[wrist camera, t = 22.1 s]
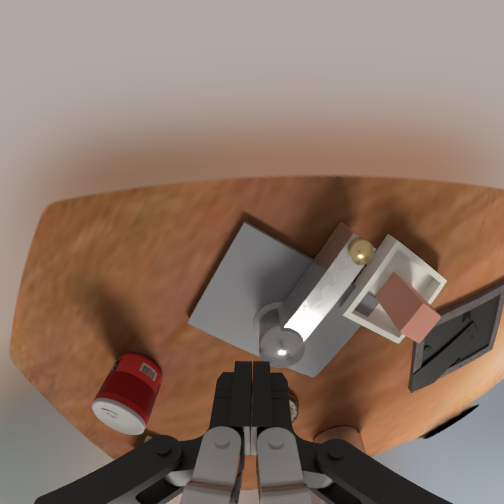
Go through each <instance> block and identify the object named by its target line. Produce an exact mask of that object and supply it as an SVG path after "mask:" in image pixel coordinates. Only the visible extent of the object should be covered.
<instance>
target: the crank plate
mask: <svg viewBox="0 0 504 504" xmlns="http://www.w3.org/2000/svg"><path fill="white" fill-rule="evenodd" d="M313 261H314V260H313V259H312V258H310V257H308V256H307V255H305V254H303V253H301V252H300V251H298V250H296V249H294V248H293V247H291V246H289V245H287V244H286V243H284V242H282V241H280V240H279V239H277V238H275V237H273V236H271V235H270V234H268V233H266V232H264V231H263V230H261V229H259V228H257V227H255V226H254V225H252V224H250V223H248V222H247V221H244V222H243V224H242V226H241V228H240V229H239V231H238V233H237V234H236V236H235V238H234V240H233V241H232V243H231V245H230V247H229V248H228V250H227V252H226V254H225V255H224V257H223V259H222V261H221V262H220V264H219V266H218V268H217V269H216V271H215V273H214V275H213V276H212V278H211V280H210V282H209V284H208V285H207V287H206V289H205V291H204V292H203V294H202V296H201V298H200V300H199V301H198V303H197V305H196V307H195V309H194V310H193V312H192V314H191V316H190V318H189V320H188V322H187V323H188V324H190V325H192V326H194V327H196V328H198V329H200V330H202V331H204V332H206V333H209V334H211V335H213V336H215V337H217V338H219V339H221V340H223V341H225V342H228V343H230V344H232V345H234V346H236V347H239V348H241V349H243V350H245V351H248V352H250V353H252V354H255V355H257V356H259V357H260V355H259V322H260V320H261V318H262V316H263V315H264V314H265V313H267V312H268V311H270V310H272V309H277V308H279V307H280V306H281V305H282V303H283V302H284V301H285V299H286V298H287V297H288V295H289V294H290V292H291V291H292V290H293V288H294V287H295V286H296V284H297V283H298V282H299V280H300V279H301V277H302V276H303V275H304V273H305V272H306V270H307V269H308V268H309V266H310V265H311V263H312V262H313ZM355 288H356V286H355V284H354V283H353V282H352V283H351V284H350V285H349V287H348V288H347V289H346V290H345V292H344V293H343V294H342V296H341V297H340V298H339V299H338V301H337V302H336V303H335V305H334V306H333V307H332V308H331V310H330V311H329V312H328V313H327V314H326V316H325V317H324V318H323V319H322V321H321V322H320V323H319V324H318V325H317V327H316V328H315V329H314V330H313V331H312V332H311V334H310V335H309V336H308V337H307V338H306V339H305V341H304V346H305V353H304V355H303V357H302V358H301V360H300V361H299V362H297V363H296V364H294V365H292V366H289V367H286V368H289V369H291V370H294V371H296V372H299V373H302V374H304V375H307V376H310V377H312V378H314V377H315V376H316V375H317V374H318V373H319V372H320V371H321V370H322V369H323V368H324V367H325V366H326V365H327V364H328V363H329V362H330V360H331V359H332V358H333V357H334V356H335V355H336V354H337V353H338V352H339V351H340V350H341V348H342V347H343V346H344V345H345V344H346V343H347V342H348V340H349V339H350V338H351V337H352V336H353V335H354V333H355V332H356V331H357V330H358V329H359V328H360V326H361V325H360V324H358V323H356V322H354V321H352V320H350V319H349V318H347V317H345V316H343V315H342V313H341V311H340V307H341V306H342V305H343V303H344V302H345V301H346V299H347V298H348V297H349V296H350V294H351V293H352V292H353V290H354V289H355ZM378 304H379V302H378V300H377V299H376V298H375V297H374V296H372V295H371V294H369V293H367V294H366V295H365V296H364V297H363V299H362V300H361V301H360V303H359V304H358V305H357V307H356V308H355V309H354V310H356V311H358V312H359V313H361V314H363V315H365V316H367V317H369V315H370V314H371V313H372V312H373V310H374V309H375V308H376V307H377V305H378Z"/></svg>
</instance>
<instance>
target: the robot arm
mask: <svg viewBox="0 0 504 504" xmlns="http://www.w3.org/2000/svg"><path fill="white" fill-rule="evenodd" d="M251 410H252V426H251ZM251 429H252V455H257V457H256V474H257V486H258V497H259V504H312V500H311V495H310V491H309V489H310V490H311V491H312V492H313V493H315V494H316V495H317V496H318V497H320V498H321V502H322V504H453V503H450V502H448V501H446V500H444V499H442V498H440V497H438V496H436V495H434V494H432V493H430V492H429V491H427V490H425V489H423V488H421V487H419V486H418V485H416V484H414V483H412V482H410V481H409V480H407V479H405V478H404V477H402V476H400V475H398V474H397V473H395V472H393V471H392V470H390V469H389V468H387V467H385V466H384V465H382V464H380V463H379V462H377V461H376V460H374V459H373V458H371V457H370V456H368V455H367V454H366V451H365V448H364V444H363V441H362V437H361V434H360V433H358V432H357V430H356V429H355V428H353V427H350V426H340V427H335V428H331V429H329V430H326V431H324V432H322V433H320V434H319V435H318V436H316V437H315V439H314V441H313V442H309V441H305V440H303V439H301V438H300V437H298V436H297V435H296V434H295V432H294V431H293V428H292V421H291V411H290V401H289V392H288V382H287V380H286V378H285V377H284V375H283V374H282V373H270V361H253V390H252V361H235V369H234V372H223V373H222V374H221V376H220V377H219V378H218V380H217V384H216V391H215V396H214V402H213V408H212V414H211V420H210V426H209V429H208V430H207V432H206V433H205V434H204V435H202V436H201V437H199V438H196V439H193V440H187V441H180V442H178V441H177V440H176V439H175V438H173V437H171V436H167V435H159V436H155V437H153V438H151V439H149V440H148V441H146V442H145V443H143V444H141V445H140V446H138V447H136V448H135V449H133V450H131V451H130V452H128V453H126V454H125V455H123V456H121V457H119V458H118V459H116V460H114V461H112V462H111V463H109V464H107V465H105V466H104V467H101V468H100V469H98V470H96V471H94V472H92V473H90V474H88V475H86V476H84V477H82V478H80V479H78V480H76V481H74V482H72V483H70V484H68V485H66V486H63V487H61V488H59V489H57V490H55V491H52V492H50V493H48V494H46V495H43V496H40V497H39V498H37V499H36V501H35V503H34V504H166V503H167V502H169V501H170V500H172V499H173V498H174V497H176V496H177V495H179V494H180V493H182V492H183V494H182V497H181V501H180V504H238V502H239V495H240V489H241V482H242V475H243V469H244V465H245V455H250V443H251Z"/></svg>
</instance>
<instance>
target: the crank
mask: <svg viewBox="0 0 504 504" xmlns="http://www.w3.org/2000/svg"><path fill="white" fill-rule="evenodd" d="M375 250H376V249H375V248H374V247H373V245H372V244H371V243H370V242H369V241H368V240H366V239H365V238H363V237H362V236H361V235H359V234H358V233H357V232H355V231H354V230H352V229H351V228H349V227H348V226H347V225H345V224H344V223H342V222H341V221H340V223H339V224H338V226H337V227H336V229H335V230H334V232H333V233H332V235H331V236H330V238H329V239H328V241H327V242H326V243H325V245H324V246H323V248H322V249H321V251H320V252H319V254H318V255H317V256H316V258H315V259H314V261H313V262H312V263H311V265H310V266H309V268H308V269H307V270H306V272H305V273H304V275H303V276H302V277H301V279H300V280H299V282H298V283H297V284H296V286H295V287H294V288H293V290H292V291H291V292H290V294H289V295H288V297H287V298H286V299H285V301H284V302H283V303H282V305H281V306H280V307H279V308H277V309H272V310H270V311H268V312H267V313H265V314H264V315H263V316H262V318H261V320H260V322H259V355H260V358H261V359H262V361H270V366H272V367H276V368H285V367H289V366H292V365H294V364H296V363H297V362H299V361H300V360H301V358H302V357H303V355H304V353H305V346H304V341H305V339H306V338H307V337H308V336H309V335H310V334H311V332H312V331H313V330H314V329H315V328H316V327H317V325H318V324H319V323H320V322H321V321H322V319H323V318H324V317H325V316H326V314H327V313H328V312H329V311H330V310H331V308H332V307H333V306H334V305H335V303H336V302H337V301H338V299H339V298H340V297H341V296H342V294H343V293H344V292H345V290H346V289H347V288H348V287H349V285H350V284H351V283H352V281H353V280H354V279H355V277H356V276H357V275H358V273H359V272H360V271H361V269H362V268H363V266H364V265H365V264H367V263H369V262H370V261H371V260H372V258H373V256H374V251H375Z"/></svg>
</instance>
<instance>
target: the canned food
mask: <svg viewBox="0 0 504 504" xmlns="http://www.w3.org/2000/svg"><path fill="white" fill-rule="evenodd" d="M161 383H162V372H161V370H160V368H159V367H158V366H157V364H156V363H155V362H153V361H152V360H151V359H149V358H148V357H146V356H144V355H141V354H138V353H132V352H130V353H125V354H123V355H122V356H120V357H119V358H118V359H117V361H116V363H115V364H114V366H113V368H112V369H111V371H110V373H109V374H108V376H107V378H106V380H105V381H104V383H103V385H102V387H101V388H100V390H99V392H98V394H97V395H96V397H95V399H94V401H93V404H92V409H93V412H94V413H95V415H96V416H97V417H98V418H99V419H100V420H101V421H102V422H103V423H105V424H106V425H108V426H109V427H111V428H113V429H115V430H117V431H119V432H122V433H125V434H130V435H139V434H142V433H143V432H144V430H145V428H146V425H147V423H148V420H149V417H150V414H151V411H152V408H153V406H154V403H155V400H156V397H157V394H158V392H159V389H160V386H161Z"/></svg>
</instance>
